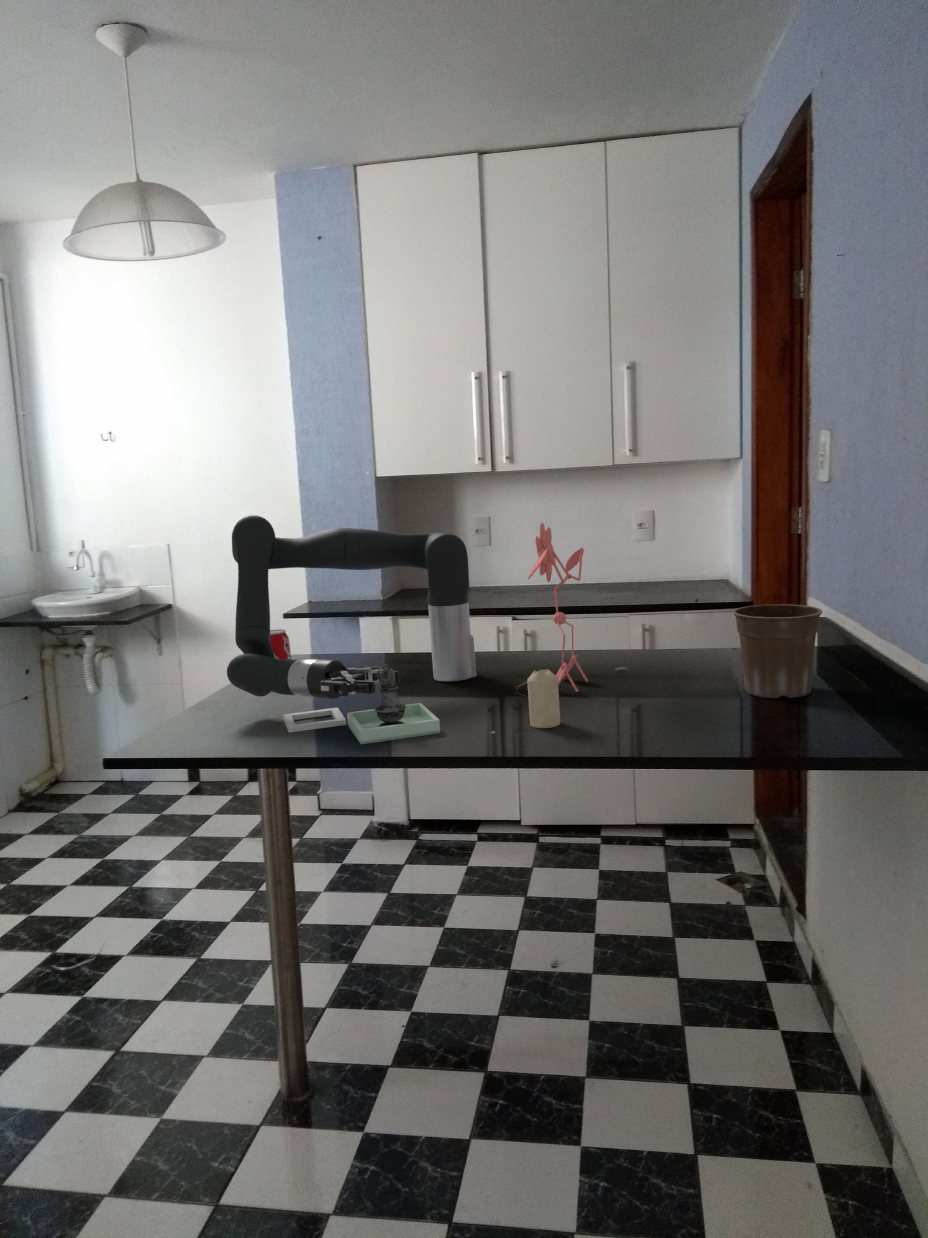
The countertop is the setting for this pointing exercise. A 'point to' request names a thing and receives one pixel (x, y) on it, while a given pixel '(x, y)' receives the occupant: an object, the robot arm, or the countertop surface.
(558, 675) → the figurine
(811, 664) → the plant pot
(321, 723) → the square frame
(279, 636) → the soda can
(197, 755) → the countertop surface
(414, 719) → the parts tray
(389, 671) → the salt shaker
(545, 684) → the candle
